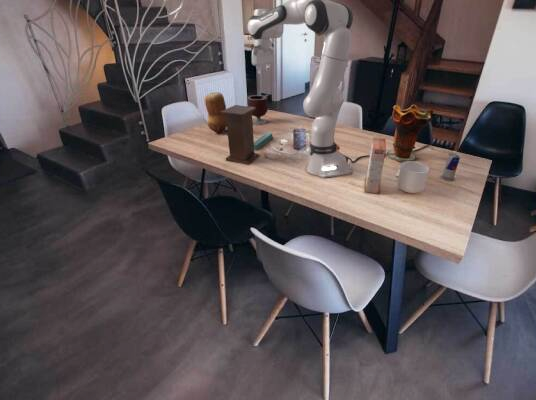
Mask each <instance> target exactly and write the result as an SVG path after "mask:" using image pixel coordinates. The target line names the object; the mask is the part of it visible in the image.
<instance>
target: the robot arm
mask: <svg viewBox="0 0 536 400" xmlns="http://www.w3.org/2000/svg"><path fill="white" fill-rule="evenodd" d="M353 22H354V14H353V11H352V9H351V8H350V7H349V6H348V5H346V4H344V3H341V2H338V1H332V0H287V1H285V2H283V3H281V4H279V5H277V6H275V7H273V8H271V9H269V8H267V7H258V8H255V9H254V10H253V14H252V15H251V16H250V17H249V19H248V21H247V24H246V29H247V32H248V34H249V36H250V37H251V38H252V39H253V45H254V46H253V48H252V51H251V64H252V66H255V68H256V70H257V74H258V75H262V74H263V70H262V68H261V67H262V66H263V65H266V66H265V72H267V73H269V72H270V71H271V69H270V68H271V65H272V64H271V63H273V62H274V60H275V47H276V44H275V42H273V41H272V39H280V38H281V37H282V36H283V34H284V31H285V25H291V26H293V25H296V26H297V25H304V24H305V26H306V27H307V28H308V29H309V30H310V31H311V32H313V33H315V34H316V35H317V37H321V36H323V40H324V42H323V48H322V52H321V56H320V61H319V66H318V71H317V74H316V76H315V79H314V81H313V84H312V86H311V88H310V91H309V93H308V94H307V96H306V97H305V98H304V99H303V103H302V107H303V112H304V113H305V114H306V115H307V117H309V118H312V119H314V120H313V122H312V124H311V127H310V141H309V147H308V153H309V157H308V162H307V165H306V171H307V172H308V173H309V174H311V175H313V176H318V177H321V178H322V179H323V178H324V179H326V178H333V177H339V176H346V175H351V173H352V167H351V166H350V165H349V164H348V163H349V161H350V163H356V162H357V161H358V160H360V159H361V158H368V157H369V158H370V154H369V155H361V156H359V157H357V158H356V159H355V160H352V158H350V157H349V156H347V155H345V154H343V153H342V152H340V150H341V146H340V145H338V144H337V142H335V130H336V125H337V121H338V118H339V114H340V111H341V107H342V106H343V104H344V101H345V94H344V92H343V90H342V89H340V88H339V86H340V85H341V83H342V82H343V80H344V77H345V73H346V69H347V65H348V61H349V58H350V52H351V49H352V48H351V47H352V39H353V37H352V36H353V35H352V32H351V30H350V29H351V27H352V24H353ZM430 145H432V146H435V144H434V143H432V142H430V143H428V144H426V145H424V146H422V147H420V148H416V149H413V150H412V152H411V153H414V152H418V151H420V150H423V149H425V148H427V147H429V146H430ZM393 154H394V153H393ZM390 155H391V154H390ZM385 156H387V154H385Z"/></svg>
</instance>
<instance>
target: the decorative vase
mask: <svg viewBox="0 0 536 400" xmlns="http://www.w3.org/2000/svg"><path fill="white" fill-rule="evenodd" d="M392 109H393V110H392V115H391V116H392V117H391V119H392V122H393V123H394V125H395V131H394V137H393V139H394V140H393V143H392V146H393V147H392V148H393V149H391V150H386V154H387V155H386V157H388V158H389V159H392V160H394V161H399V162H406V161H414V162H415V161H416V160H418V158H419V156H417V155H416V154H414V153H413V152H412V151H413V150H417V148H416V146H415V145H416V142H417V140H418V137H419V133H420V131H421V130H423V128H424V127H425V128H426V127H427V126H428V125H429V123H430V122H431V120H432V114H433V113H434V110H433V109H427V110H426V111H425V112H422V111H420V110H419V109H418V106H417V105H416V104H411V105H410V106H409V107H408V108H406V109H402V108H401V106H399V105H393V107H392ZM393 153H394V154H393ZM390 154H391V155H390Z"/></svg>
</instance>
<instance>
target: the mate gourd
mask: <svg viewBox="0 0 536 400" xmlns="http://www.w3.org/2000/svg"><path fill="white" fill-rule="evenodd" d="M268 96H270V93H268V94H264V95H262V94H261V95H260V94H258V95H255V94H254V95H249V96H248V97H247V106H248V107H256V110H254V111H252V117H255V118H252V122H253V125H256V126H257V125H258V126H259V125H266V124H268V120H267V119H265V118H262V117H264V116H266V115H267V113H268V108H269V102H268V101H269V100H268Z"/></svg>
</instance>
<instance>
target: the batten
mask: <svg viewBox="0 0 536 400" xmlns="http://www.w3.org/2000/svg"><path fill="white" fill-rule="evenodd" d="M272 139H273V133H272V132H266V133H264V134H263V135H262V136H261V137H259V138H258V139H257V140H254V151H258V150H259V149H260V148H262V147H263V146H264V145H266V144H267V143H268V142H269V141H270V140H272Z"/></svg>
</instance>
